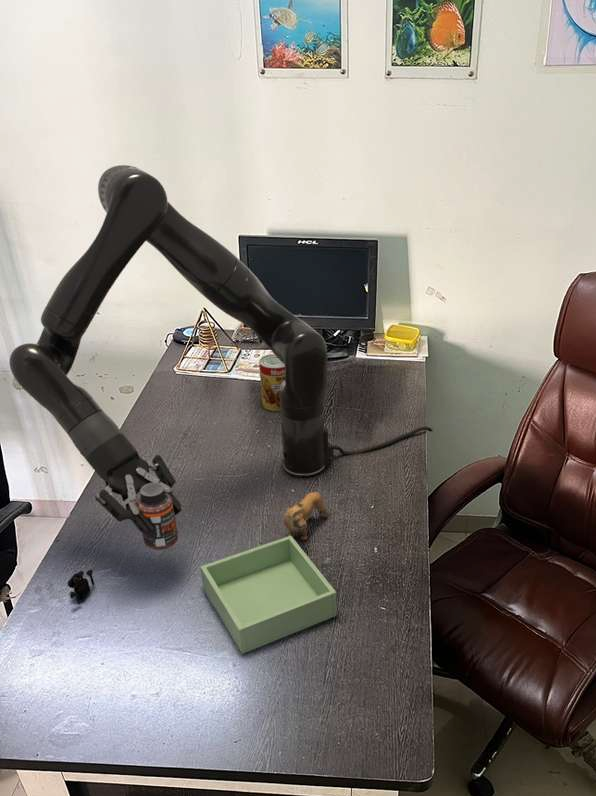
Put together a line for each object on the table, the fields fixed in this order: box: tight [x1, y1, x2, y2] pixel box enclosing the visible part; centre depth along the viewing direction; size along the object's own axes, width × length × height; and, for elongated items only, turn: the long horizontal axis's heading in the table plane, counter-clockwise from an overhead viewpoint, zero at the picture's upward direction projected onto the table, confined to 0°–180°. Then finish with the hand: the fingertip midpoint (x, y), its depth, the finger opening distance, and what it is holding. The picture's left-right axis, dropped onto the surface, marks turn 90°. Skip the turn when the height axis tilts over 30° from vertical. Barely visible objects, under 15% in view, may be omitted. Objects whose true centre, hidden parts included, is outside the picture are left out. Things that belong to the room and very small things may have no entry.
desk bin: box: [200, 535, 337, 655], centre depth 130 cm, size 18×18×6 cm
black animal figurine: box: [67, 569, 95, 605], centre depth 130 cm, size 7×2×5 cm, turn 168°
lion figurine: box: [283, 491, 328, 541], centre depth 146 cm, size 15×5×9 cm, turn 163°
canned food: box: [258, 353, 285, 412], centre depth 186 cm, size 8×8×12 cm
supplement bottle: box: [137, 483, 179, 551], centre depth 129 cm, size 6×6×11 cm
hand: (165, 522), depth 129 cm, fingers closed on supplement bottle, 6 cm apart
